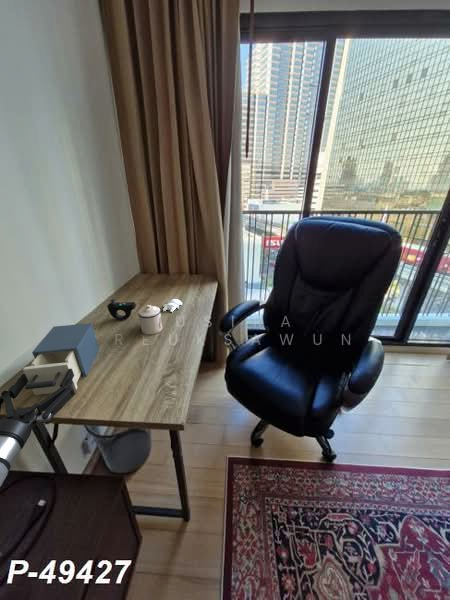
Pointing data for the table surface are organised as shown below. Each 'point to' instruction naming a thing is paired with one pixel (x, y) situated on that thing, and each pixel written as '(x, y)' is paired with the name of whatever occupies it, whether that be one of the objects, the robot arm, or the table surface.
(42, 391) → the drawer
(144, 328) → the teacup with lid
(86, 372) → the blue cabinet box
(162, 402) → the table surface
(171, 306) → the astronaut figurine
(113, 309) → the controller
